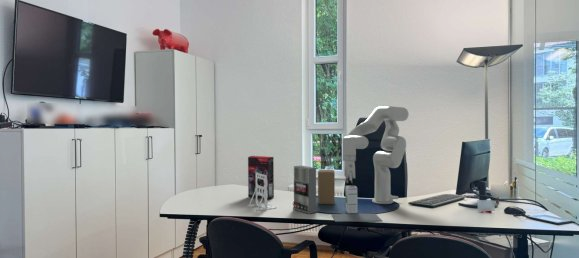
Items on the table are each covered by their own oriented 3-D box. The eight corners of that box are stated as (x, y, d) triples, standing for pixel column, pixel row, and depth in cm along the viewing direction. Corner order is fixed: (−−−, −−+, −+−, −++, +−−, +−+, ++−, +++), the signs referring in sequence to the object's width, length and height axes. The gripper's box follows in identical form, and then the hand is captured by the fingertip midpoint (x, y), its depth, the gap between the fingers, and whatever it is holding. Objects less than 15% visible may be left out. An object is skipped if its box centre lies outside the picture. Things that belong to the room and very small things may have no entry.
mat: (375, 214, 216) (375, 213, 216) (382, 221, 202) (382, 220, 202) (331, 215, 215) (331, 214, 215) (335, 221, 202) (335, 221, 202)
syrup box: (357, 213, 219) (357, 187, 219) (347, 213, 219) (347, 187, 218) (355, 210, 225) (355, 185, 224) (345, 210, 225) (345, 185, 224)
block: (334, 201, 250) (334, 169, 249) (334, 204, 240) (334, 171, 239) (318, 200, 251) (318, 169, 250) (318, 204, 241) (317, 171, 240)
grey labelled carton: (292, 209, 229) (292, 166, 228) (300, 207, 232) (300, 165, 231) (308, 214, 218) (307, 168, 217) (316, 212, 221) (316, 167, 220)
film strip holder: (278, 208, 232) (278, 174, 231) (257, 211, 224) (257, 176, 224) (267, 203, 244) (267, 171, 243) (246, 206, 237) (246, 173, 236)
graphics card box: (247, 197, 264) (247, 156, 263) (253, 195, 270) (253, 155, 269) (268, 200, 255) (268, 157, 254) (274, 198, 261) (274, 156, 260)
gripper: (358, 159, 220) (358, 192, 220) (353, 156, 235) (353, 187, 235) (344, 159, 220) (344, 192, 220) (340, 156, 235) (340, 187, 235)
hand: (349, 189), depth 228 cm, fingers closed
